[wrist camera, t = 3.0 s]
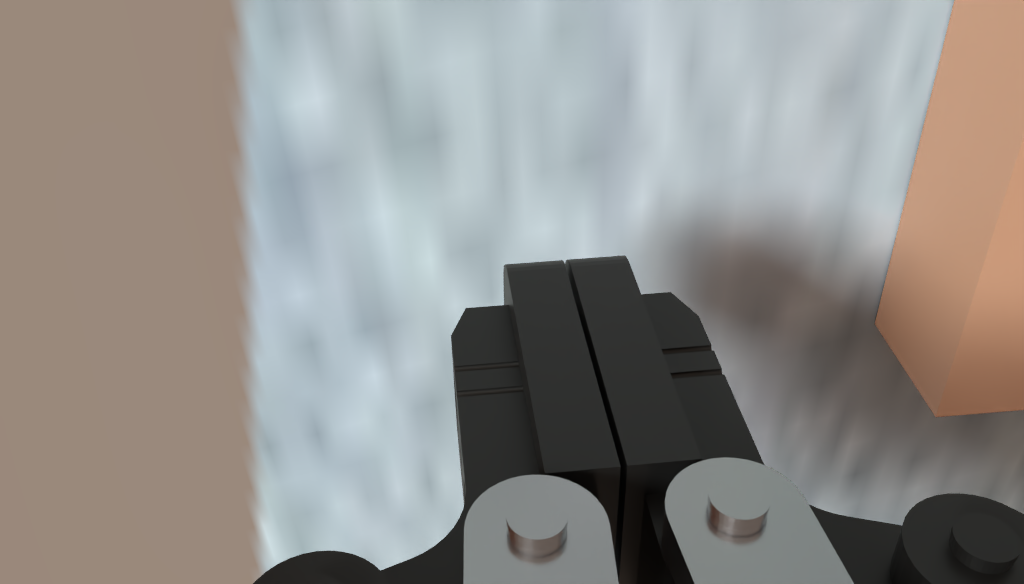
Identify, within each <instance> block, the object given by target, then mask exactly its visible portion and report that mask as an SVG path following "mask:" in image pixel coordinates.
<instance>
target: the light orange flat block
mask: <svg viewBox="0 0 1024 584" xmlns="http://www.w3.org/2000/svg"><path fill="white" fill-rule="evenodd" d="M875 325H876V327H877V328H878V330H879V331H880V333H881V334H882V336H883V337H884V339H885V340H886V342H887V343H888V345H889V347H890V348H891V350H892V351H893V353H894V354H895V356H896V357H897V359H898V360H899V362H900V363H901V365H902V366H903V368H904V369H905V371H906V373H907V374H908V376H909V377H910V379H911V380H912V382H913V383H914V385H915V386H916V388H917V389H918V391H919V392H920V394H921V395H922V397H923V399H924V400H925V402H926V403H927V405H928V406H929V408H930V409H931V411H932V412H933V414H934V415H935V417H944V416H956V415H968V414H980V413H992V412H1004V411H1016V410H1024V0H954V4H953V8H952V12H951V16H950V20H949V24H948V28H947V32H946V36H945V41H944V45H943V49H942V53H941V57H940V61H939V65H938V69H937V73H936V77H935V81H934V85H933V89H932V93H931V97H930V101H929V105H928V110H927V114H926V118H925V122H924V126H923V130H922V134H921V138H920V142H919V146H918V150H917V154H916V158H915V162H914V166H913V170H912V174H911V178H910V183H909V187H908V191H907V195H906V199H905V203H904V207H903V211H902V215H901V219H900V223H899V227H898V231H897V235H896V239H895V243H894V247H893V252H892V256H891V260H890V264H889V268H888V272H887V276H886V280H885V284H884V288H883V292H882V296H881V300H880V304H879V308H878V312H877V316H876V320H875Z"/></svg>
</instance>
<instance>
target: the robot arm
mask: <svg viewBox="0 0 1024 584" xmlns="http://www.w3.org/2000/svg"><path fill="white" fill-rule="evenodd" d="M451 341H452V357H453V372H454V387H455V403H456V418H457V432H458V443H459V454H460V464H461V476H462V486H463V497H464V509H463V511H462V514H461V516H460V518H459V520H458V522H457V523H456V525H455V526H454V528H453V529H452V530H451V531H450V532H449V534H448V535H447V536H446V537H445V538H444V539H443V540H441V541H440V542H439V543H438V544H437V545H435V546H434V547H432V548H431V549H429V550H428V551H426V552H424V553H423V554H420V555H418V556H416V557H414V558H412V559H409V560H407V561H404V562H402V563H399V564H396V565H394V566H391V567H389V568H386V569H384V570H381V571H380V570H379V569H378V568H377V567H376V566H375V565H373V564H372V563H370V562H369V561H367V560H365V559H363V558H361V557H359V556H356V555H353V554H349V553H345V552H339V551H316V552H311V553H306V554H302V555H299V556H296V557H292V558H290V559H288V560H286V561H283V562H281V563H279V564H277V565H276V566H274V567H273V568H271V569H270V570H268V571H267V572H265V573H264V574H263V575H262V576H261V577H260V578H259V579H257V580H256V581H255V582H254V583H253V584H1024V514H1022V513H1020V512H1018V511H1016V510H1014V509H1012V508H1010V507H1008V506H1006V505H1004V504H1002V503H999V502H996V501H993V500H991V499H988V498H984V497H979V496H975V495H968V494H943V495H936V496H933V497H930V498H927V499H925V500H923V501H921V502H919V503H917V504H916V505H915V506H914V507H913V508H912V509H911V510H910V511H909V512H908V514H907V515H906V517H905V520H904V523H903V525H902V526H901V525H895V524H889V523H883V522H877V521H871V520H865V519H859V518H853V517H847V516H842V515H838V514H833V513H830V512H827V511H824V510H821V509H818V508H816V507H814V506H811V505H809V504H808V502H807V501H806V499H805V497H804V496H803V495H802V493H801V492H800V490H799V489H798V488H797V487H796V486H795V485H794V484H793V483H792V482H791V481H790V480H789V479H787V478H786V477H785V476H783V475H782V474H781V473H779V472H777V471H775V470H774V469H772V468H770V467H767V466H765V465H764V463H763V461H762V459H761V457H760V455H759V452H758V450H757V448H756V446H755V443H754V441H753V439H752V436H751V434H750V432H749V430H748V427H747V425H746V423H745V421H744V418H743V416H742V414H741V411H740V409H739V407H738V405H737V402H736V400H735V398H734V396H733V393H732V391H731V389H730V387H729V384H728V382H727V380H726V377H725V375H722V368H721V366H720V364H719V362H718V359H717V357H716V355H715V353H714V351H712V350H711V343H710V341H709V339H708V337H707V334H706V332H705V330H704V328H703V325H702V323H701V321H700V319H699V316H698V315H697V314H695V313H694V312H693V311H692V310H691V309H690V308H688V307H687V306H686V305H685V304H684V303H683V302H681V301H680V300H679V299H678V298H677V297H676V296H674V295H673V294H672V293H671V292H668V293H655V294H642V295H641V293H640V290H639V288H638V285H637V282H636V280H635V277H634V274H633V272H632V269H631V266H630V264H629V261H628V259H627V257H626V256H612V257H599V258H585V259H571V260H566V263H565V264H564V261H563V260H561V261H547V262H534V263H520V264H506V265H504V305H502V306H489V307H476V308H466V309H465V311H464V313H463V315H462V316H461V318H460V320H459V322H458V324H457V326H456V328H455V330H454V332H453V333H452V335H451Z"/></svg>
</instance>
